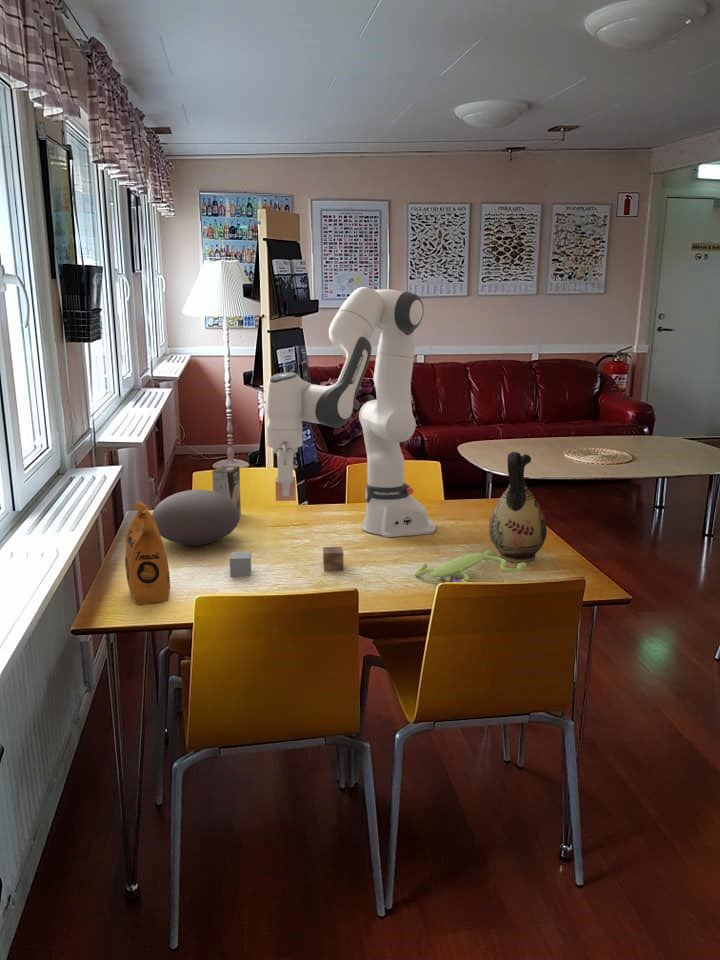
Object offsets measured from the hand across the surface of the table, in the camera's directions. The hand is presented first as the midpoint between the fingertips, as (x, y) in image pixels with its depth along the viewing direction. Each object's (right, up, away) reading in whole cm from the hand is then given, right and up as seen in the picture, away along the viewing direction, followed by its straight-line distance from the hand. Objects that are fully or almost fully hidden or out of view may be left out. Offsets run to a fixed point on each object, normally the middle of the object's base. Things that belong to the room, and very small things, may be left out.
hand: (285, 492), depth 193 cm
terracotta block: (0, -2, 0) cm, 2 cm away
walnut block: (+12, -20, +7) cm, 24 cm away
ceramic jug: (+61, -19, +15) cm, 66 cm away
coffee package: (-32, -25, -12) cm, 42 cm away
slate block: (-12, -21, +3) cm, 24 cm away
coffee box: (-24, -9, +52) cm, 58 cm away
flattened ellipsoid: (-28, -15, +28) cm, 42 cm away
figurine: (+47, -22, +1) cm, 52 cm away
